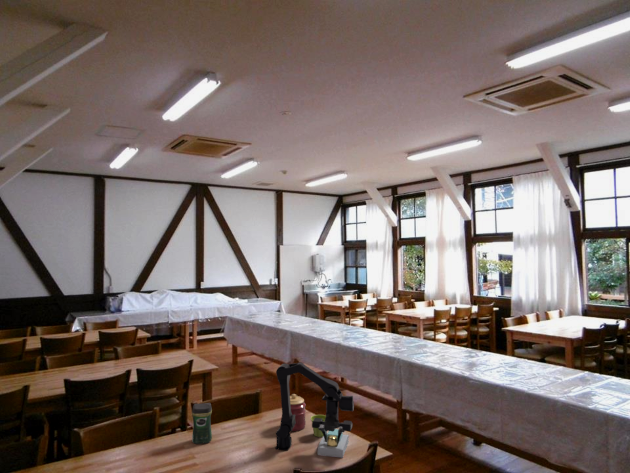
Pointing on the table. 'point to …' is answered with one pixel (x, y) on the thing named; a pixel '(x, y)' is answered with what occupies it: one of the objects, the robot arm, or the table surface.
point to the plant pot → (315, 430)
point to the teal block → (334, 433)
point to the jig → (333, 451)
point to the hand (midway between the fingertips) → (332, 442)
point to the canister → (298, 412)
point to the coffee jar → (201, 423)
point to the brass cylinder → (332, 441)
